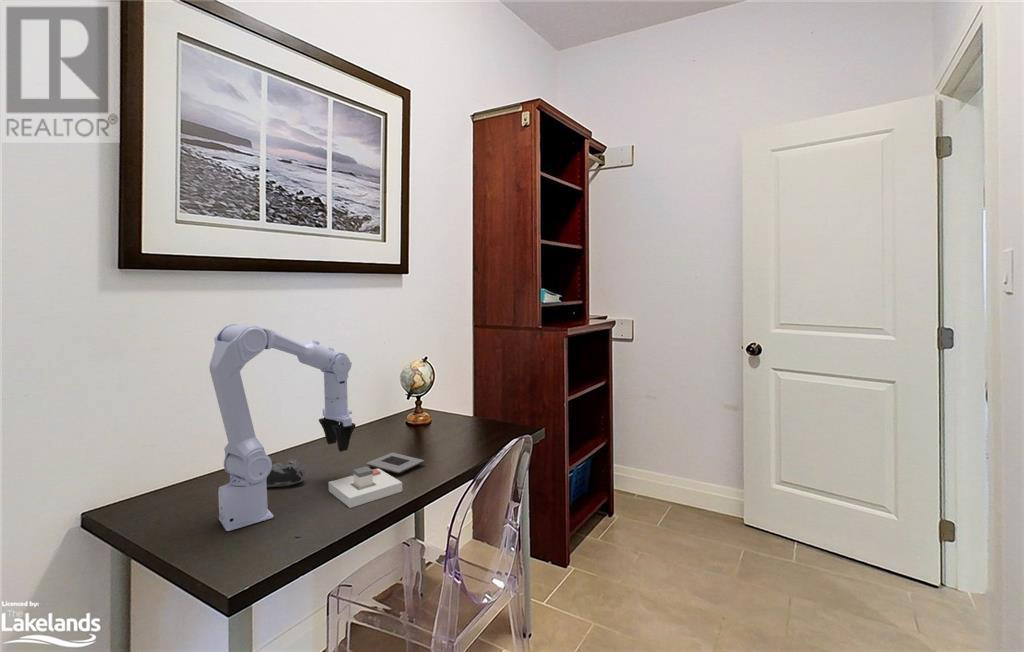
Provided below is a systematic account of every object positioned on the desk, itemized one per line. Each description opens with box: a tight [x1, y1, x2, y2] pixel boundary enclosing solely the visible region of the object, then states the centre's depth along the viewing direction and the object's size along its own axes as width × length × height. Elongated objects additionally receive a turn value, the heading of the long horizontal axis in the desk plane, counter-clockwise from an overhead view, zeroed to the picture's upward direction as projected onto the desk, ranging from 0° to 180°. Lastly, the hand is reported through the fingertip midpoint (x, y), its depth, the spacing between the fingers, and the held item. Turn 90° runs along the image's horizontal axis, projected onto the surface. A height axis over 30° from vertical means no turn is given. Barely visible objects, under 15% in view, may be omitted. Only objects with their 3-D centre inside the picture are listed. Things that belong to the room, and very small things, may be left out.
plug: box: [352, 465, 373, 490], centre depth 122 cm, size 4×4×6 cm
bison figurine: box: [266, 459, 306, 488], centre depth 130 cm, size 12×7×10 cm
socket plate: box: [328, 468, 403, 509], centre depth 124 cm, size 14×13×3 cm
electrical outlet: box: [365, 452, 425, 475], centre depth 140 cm, size 13×10×2 cm
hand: (337, 446), depth 128 cm, fingers open, 7 cm apart
